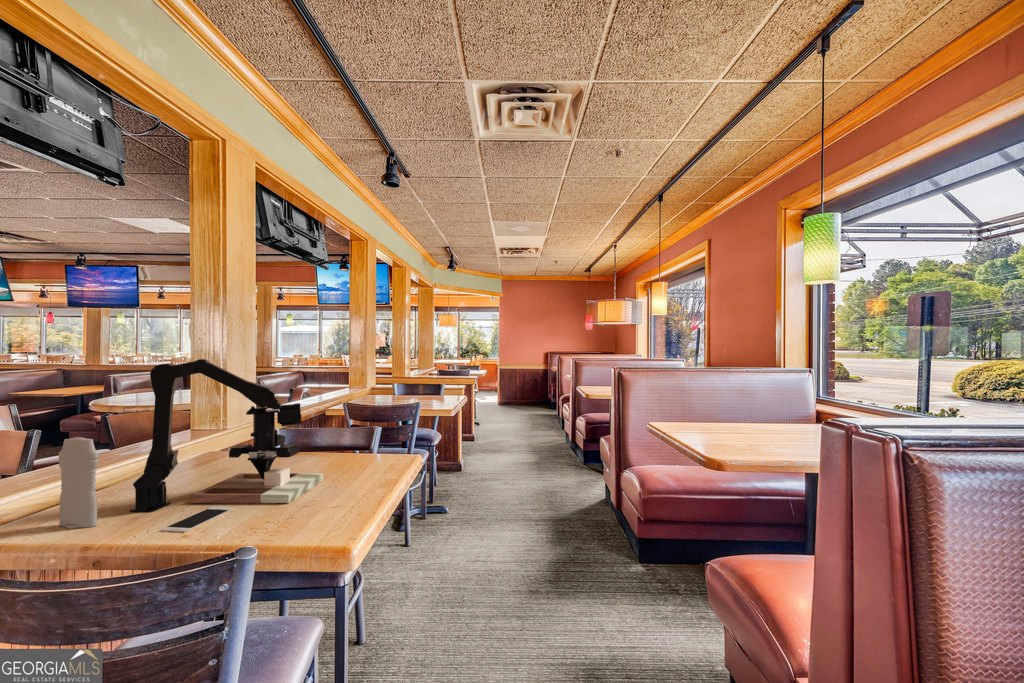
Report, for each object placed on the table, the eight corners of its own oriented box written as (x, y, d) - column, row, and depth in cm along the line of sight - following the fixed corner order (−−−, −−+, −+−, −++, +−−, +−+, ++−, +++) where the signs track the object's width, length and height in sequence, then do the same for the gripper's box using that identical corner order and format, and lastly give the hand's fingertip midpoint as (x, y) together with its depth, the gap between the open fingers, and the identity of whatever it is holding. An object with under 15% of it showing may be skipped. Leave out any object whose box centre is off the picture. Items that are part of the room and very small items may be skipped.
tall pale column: (50, 528, 107) (50, 438, 107) (68, 521, 111) (68, 435, 111) (88, 529, 106) (88, 439, 106) (105, 522, 110) (105, 435, 110)
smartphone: (235, 510, 119) (235, 506, 119) (185, 534, 104) (185, 530, 104) (212, 509, 120) (212, 506, 120) (159, 533, 105) (159, 529, 105)
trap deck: (288, 503, 122) (288, 494, 122) (191, 503, 123) (191, 494, 123) (323, 480, 143) (323, 473, 143) (239, 480, 144) (239, 473, 144)
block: (280, 486, 130) (280, 472, 130) (264, 486, 130) (264, 472, 131) (289, 481, 135) (289, 468, 135) (274, 480, 135) (274, 468, 136)
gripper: (307, 423, 141) (307, 471, 141) (250, 423, 142) (250, 471, 142) (288, 429, 130) (289, 482, 130) (227, 430, 131) (227, 482, 130)
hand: (264, 478), depth 133 cm, fingers closed
